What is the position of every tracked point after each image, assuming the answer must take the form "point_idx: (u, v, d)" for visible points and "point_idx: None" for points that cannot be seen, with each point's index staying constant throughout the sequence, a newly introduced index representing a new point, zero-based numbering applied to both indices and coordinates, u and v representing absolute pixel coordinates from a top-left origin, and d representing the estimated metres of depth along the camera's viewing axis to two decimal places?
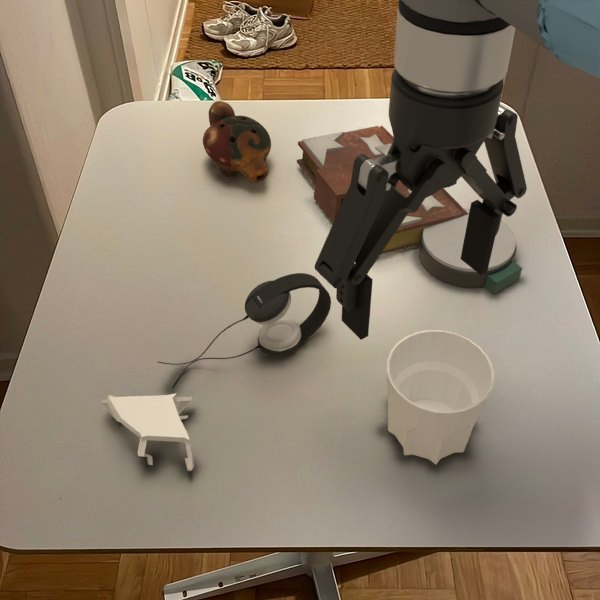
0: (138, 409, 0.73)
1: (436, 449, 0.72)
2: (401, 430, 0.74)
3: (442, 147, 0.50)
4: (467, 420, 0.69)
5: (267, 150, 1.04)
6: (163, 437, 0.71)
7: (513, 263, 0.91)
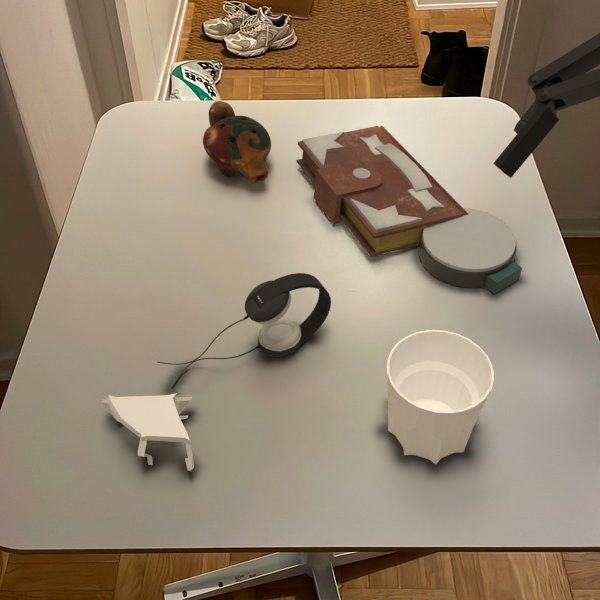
0: (138, 409, 0.73)
1: (436, 449, 0.72)
2: (401, 430, 0.74)
3: None
4: (467, 420, 0.69)
5: (267, 150, 1.04)
6: (163, 437, 0.71)
7: (513, 263, 0.91)
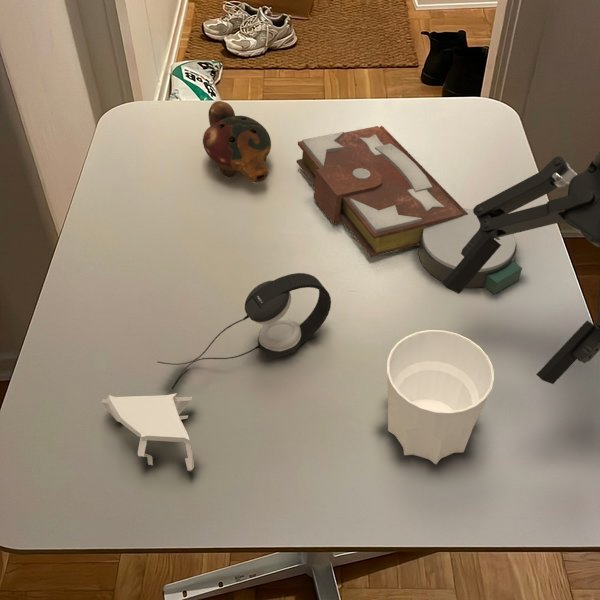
0: (138, 409, 0.73)
1: (436, 449, 0.72)
2: (401, 430, 0.74)
3: (596, 161, 0.66)
4: (467, 420, 0.69)
5: (267, 150, 1.04)
6: (163, 437, 0.71)
7: (513, 263, 0.91)
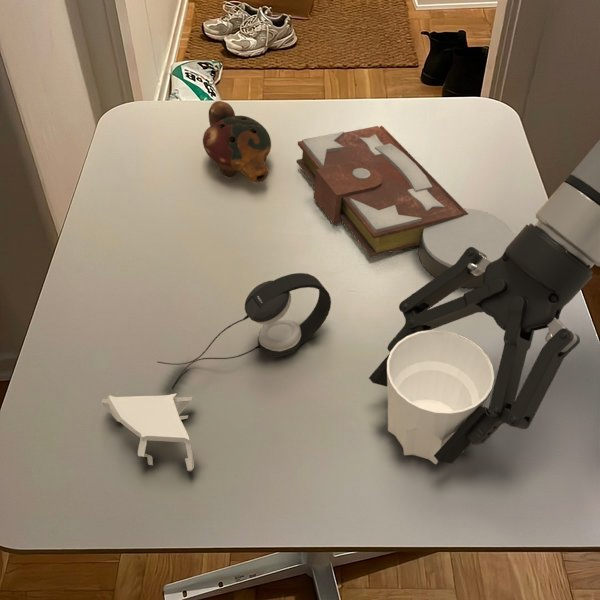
0: (138, 409, 0.73)
1: (436, 449, 0.72)
2: (401, 430, 0.74)
3: (507, 252, 0.68)
4: None
5: (267, 150, 1.04)
6: (163, 437, 0.71)
7: None
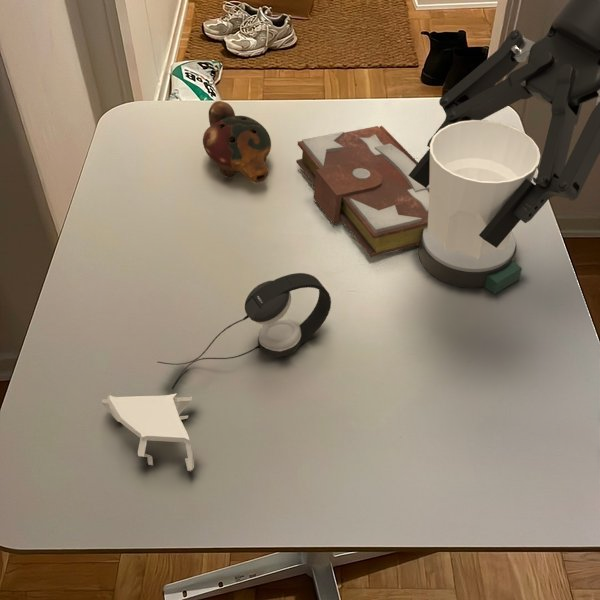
0: (138, 409, 0.73)
1: (479, 238, 0.71)
2: (442, 224, 0.72)
3: (554, 21, 0.66)
4: None
5: (267, 150, 1.04)
6: (163, 437, 0.71)
7: (513, 263, 0.91)
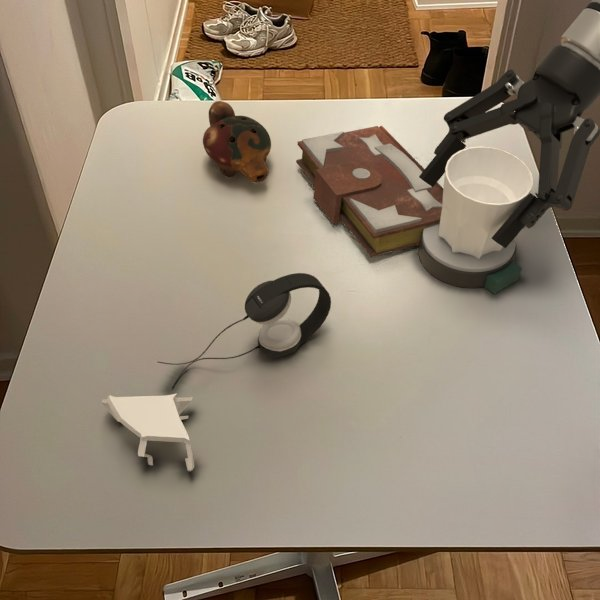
0: (138, 409, 0.73)
1: (481, 244, 0.88)
2: (451, 230, 0.90)
3: (537, 68, 0.83)
4: (510, 215, 0.85)
5: (267, 150, 1.04)
6: (163, 437, 0.71)
7: (513, 263, 0.91)
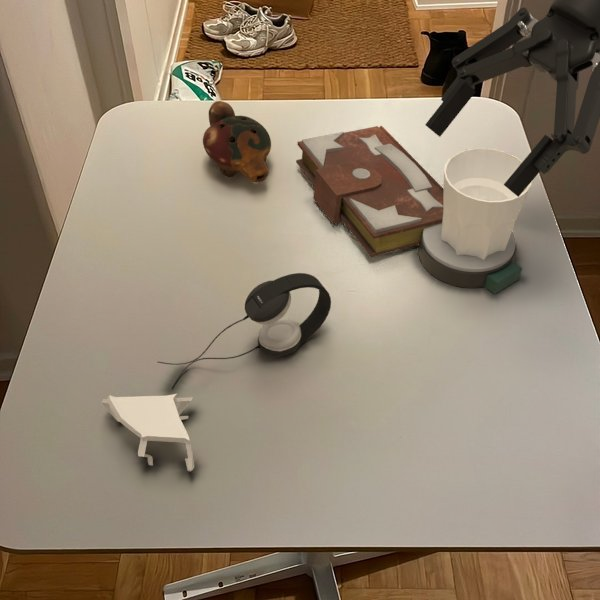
0: (138, 410, 0.73)
1: (485, 244, 0.88)
2: (454, 233, 0.90)
3: (553, 3, 0.78)
4: (512, 212, 0.85)
5: (267, 150, 1.04)
6: (163, 437, 0.71)
7: (513, 263, 0.91)
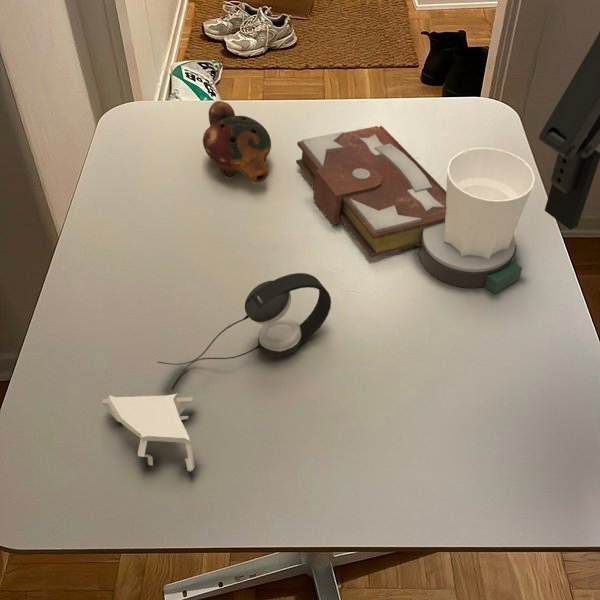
0: (138, 410, 0.73)
1: (490, 243, 0.88)
2: (459, 234, 0.90)
3: None
4: (517, 210, 0.85)
5: (267, 150, 1.04)
6: (163, 437, 0.71)
7: (513, 263, 0.91)
